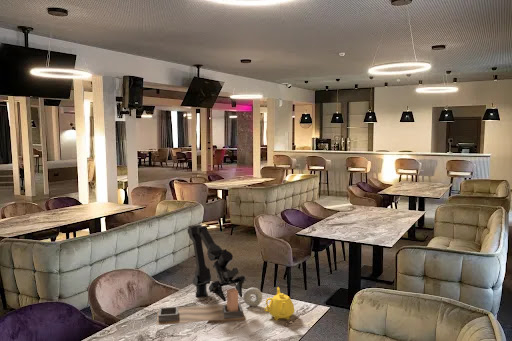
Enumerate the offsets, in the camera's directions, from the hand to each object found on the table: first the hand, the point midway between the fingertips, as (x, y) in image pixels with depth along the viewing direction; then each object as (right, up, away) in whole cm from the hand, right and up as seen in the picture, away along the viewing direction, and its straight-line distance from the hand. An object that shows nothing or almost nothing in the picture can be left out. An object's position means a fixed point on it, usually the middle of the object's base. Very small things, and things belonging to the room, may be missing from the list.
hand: (233, 299), depth 202 cm
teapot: (+23, -10, +3) cm, 25 cm away
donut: (+9, -8, +15) cm, 19 cm away
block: (-1, -8, +2) cm, 8 cm away
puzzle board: (-16, -9, +3) cm, 19 cm away
